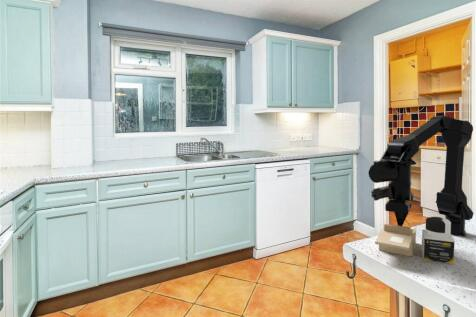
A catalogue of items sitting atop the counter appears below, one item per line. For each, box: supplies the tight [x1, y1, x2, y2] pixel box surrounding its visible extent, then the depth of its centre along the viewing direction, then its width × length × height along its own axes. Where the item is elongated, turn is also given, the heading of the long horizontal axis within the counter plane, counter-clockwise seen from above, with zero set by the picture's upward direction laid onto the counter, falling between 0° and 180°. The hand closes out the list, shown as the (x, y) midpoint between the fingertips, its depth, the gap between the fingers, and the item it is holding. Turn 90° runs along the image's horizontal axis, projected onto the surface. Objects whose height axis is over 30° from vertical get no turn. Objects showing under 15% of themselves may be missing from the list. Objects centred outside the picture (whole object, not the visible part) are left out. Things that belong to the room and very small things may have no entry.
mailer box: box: [378, 228, 417, 257], centre depth 94 cm, size 12×9×5 cm
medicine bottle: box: [421, 216, 456, 265], centre depth 86 cm, size 7×7×12 cm
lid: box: [374, 223, 413, 250], centre depth 88 cm, size 12×9×3 cm
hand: (400, 226), depth 96 cm, fingers closed
